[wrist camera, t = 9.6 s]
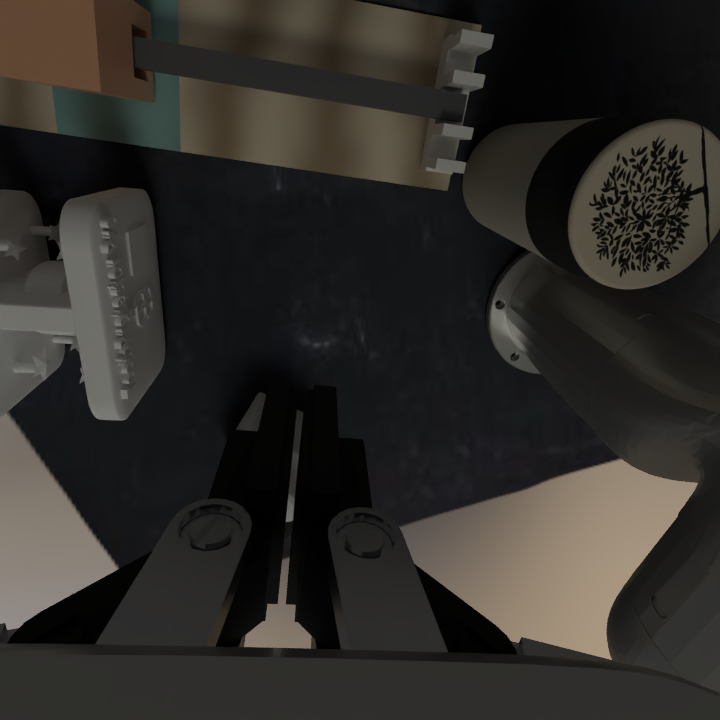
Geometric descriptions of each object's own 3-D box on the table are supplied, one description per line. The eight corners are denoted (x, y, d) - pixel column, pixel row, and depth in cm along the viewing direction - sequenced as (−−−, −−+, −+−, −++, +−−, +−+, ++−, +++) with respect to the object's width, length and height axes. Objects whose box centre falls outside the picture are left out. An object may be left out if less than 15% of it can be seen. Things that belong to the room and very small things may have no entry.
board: (480, 26, 33) (482, 24, 32) (446, 190, 37) (447, 191, 37) (-31, -73, 29) (-36, -76, 28) (1, 124, 33) (-3, 124, 33)
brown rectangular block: (150, 12, 30) (91, -30, 23) (154, 103, 32) (100, 92, 25) (68, -2, 30) (-22, -52, 22) (77, 91, 32) (-2, 75, 24)
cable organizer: (15, 173, 35) (-118, 189, 24) (161, 187, 36) (95, 206, 25) (52, 355, 41) (-41, 429, 31) (176, 362, 42) (127, 435, 32)
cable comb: (468, 47, 33) (495, 30, 28) (443, 172, 37) (463, 177, 32) (441, 41, 33) (463, 24, 28) (419, 168, 37) (434, 173, 31)
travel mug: (467, 240, 39) (569, 312, 23) (454, 138, 36) (562, 139, 20) (561, 217, 39) (729, 273, 23) (556, 112, 36) (752, 90, 19)
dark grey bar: (461, 96, 32) (467, 94, 31) (456, 122, 33) (462, 121, 31) (-9, 14, 29) (-27, 8, 27) (-5, 45, 29) (-22, 40, 28)
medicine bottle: (289, 472, 48) (279, 568, 38) (226, 443, 46) (196, 536, 36) (324, 421, 46) (325, 508, 35) (259, 389, 44) (238, 471, 33)
